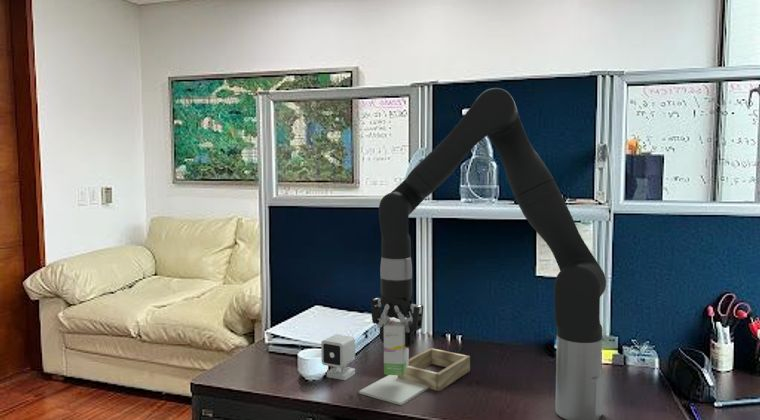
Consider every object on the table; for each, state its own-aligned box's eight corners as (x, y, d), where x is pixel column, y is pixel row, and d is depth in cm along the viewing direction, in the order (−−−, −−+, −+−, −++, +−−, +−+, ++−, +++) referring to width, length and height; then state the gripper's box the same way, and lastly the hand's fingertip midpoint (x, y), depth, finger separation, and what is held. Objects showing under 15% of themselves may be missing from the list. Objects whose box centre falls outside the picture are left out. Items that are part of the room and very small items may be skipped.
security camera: (321, 378, 149) (321, 340, 148) (336, 369, 155) (335, 332, 154) (342, 382, 146) (342, 343, 145) (356, 373, 152) (356, 336, 152)
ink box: (404, 376, 137) (403, 314, 135) (383, 375, 138) (382, 313, 136) (409, 363, 145) (409, 305, 144) (390, 362, 146) (389, 304, 145)
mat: (432, 385, 144) (432, 383, 144) (401, 405, 133) (401, 402, 133) (392, 375, 151) (392, 373, 151) (359, 393, 140) (359, 390, 140)
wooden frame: (469, 371, 154) (469, 356, 153) (439, 391, 141) (439, 374, 140) (430, 362, 161) (430, 347, 160) (397, 380, 148) (397, 364, 147)
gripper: (430, 276, 138) (430, 345, 140) (380, 269, 147) (381, 335, 148) (413, 282, 132) (413, 354, 134) (362, 274, 140) (363, 343, 142)
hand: (396, 344), depth 141 cm, fingers closed on ink box, 6 cm apart
